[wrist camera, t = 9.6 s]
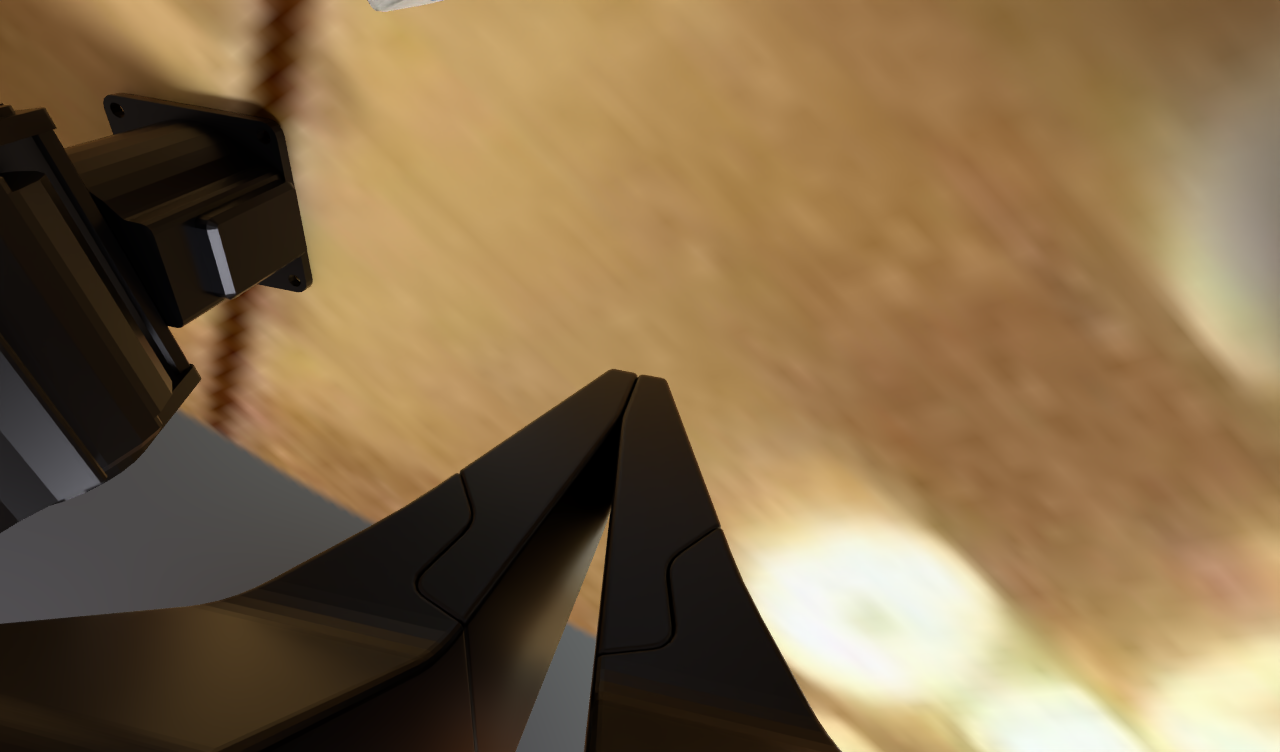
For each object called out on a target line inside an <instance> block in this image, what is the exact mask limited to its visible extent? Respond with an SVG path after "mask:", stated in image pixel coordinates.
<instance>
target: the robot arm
mask: <svg viewBox="0 0 1280 752" xmlns="http://www.w3.org/2000/svg"><path fill="white" fill-rule="evenodd" d="M103 104H104V109H105V111H106V114H107V117H108V120H109V123H110V126H111V129H112V132H113V135H111V136H108V137H104V138H100V139H97V140H93V141H90V142H86V143H82V144H79V145H75V146H72V147H68V148H63V146H62V144H61V143H60V141H59V139H58V137H57V136H56V134H55V132H54V131H53V129H56V126H55V124H54V123H53V121H52V119H51V118H50V116H49V114H48V112H47V111H46V109H45V108H35V109H26V110H17V111H14V110H13V108H12V106H11V105H3V103H1V104H0V533H1V532H3V531H4V530H6V529H8V528H9V527H11V526H13V525H14V524H15V523H17V522H19V521H21V520H23V519H25V518H27V517H29V516H31V515H33V514H34V513H36V512H38V511H40V510H42V509H44V508H46V507H48V506H50V505H54V504H57V503H60V502H63V501H66V500H69V499H71V498H73V497H76V496H79V495H81V494H83V493H86V492H88V491H90V490H92V489H94V488H96V487H97V486H99V485H101V484H103V483H105V482H107V481H108V480H110V479H112V478H113V477H115V476H116V475H118V474H119V473H121V472H122V471H124V470H125V469H126V468H127V467H129V466H130V465H131V464H132V463H134V462H135V461H136V460H137V459H138V458H139V457H140V456H141V455H142V454H143V453H144V452H145V450H146V449H147V448H148V446H149V445H150V444H151V443H152V441H153V440H154V439H155V437H156V436H157V435H158V434H159V432H160V431H161V430H162V428H163V427H164V426H165V425H166V424H167V422H168V421H169V420H170V419H171V417H172V416H173V415H174V413H175V412H176V411H177V410H178V408H179V407H180V406H181V405H182V403H183V402H184V401H185V399H186V398H187V397H188V396H189V394H190V393H191V392H192V391H193V389H194V388H195V387H196V385H197V384H198V383H199V382H200V380H201V377H200V375H199V373H198V372H197V370H196V368H195V366H194V365H193V364H189V362H188V361H187V359H186V357H185V356H184V354H183V352H182V350H181V349H180V347H179V345H178V344H177V342H176V340H175V338H174V337H173V335H172V333H171V332H170V330H169V328H168V326H171V327H176V328H181V327H183V326H184V325H186V324H188V323H189V322H191V321H192V320H194V319H196V318H197V317H199V316H200V315H202V314H204V313H205V312H207V311H208V310H210V309H211V308H213V307H215V306H216V305H218V304H219V303H221V302H223V301H224V300H226V299H230V300H231V299H235V298H236V297H238V296H239V295H241V294H242V293H244V292H246V291H247V290H249V289H250V288H252V287H253V286H255V285H257V284H259V285H264V286H269V287H274V288H279V289H284V290H289V291H294V292H302V291H304V290H306V289H307V288H309V287H310V286H311V285H312V280H313V279H312V274H311V269H310V263H309V258H308V253H307V246H306V241H305V236H304V231H303V226H302V221H301V216H300V211H299V205H298V200H297V195H296V190H295V187H294V182H293V177H292V172H291V167H290V162H289V157H288V152H287V146H286V141H285V136H284V133H283V131H282V129H281V128H280V126H279V125H278V124H277V123H275V122H274V121H273V120H270V119H267V118H261V117H255V116H250V115H244V114H238V113H233V112H227V111H221V110H216V109H210V108H204V107H199V106H193V105H187V104H182V103H176V102H170V101H165V100H159V99H153V98H148V97H142V96H136V95H131V94H125V93H116V94H111V95H107V96H106V97H105V98H104V101H103ZM120 106H121V107H122V109H123V110H124V112H123V111H122V109H121V107H120ZM264 130H266V131H267V132H268V133H269V135H270V140H269V139H268V138H267V137H266V136H265V133H264ZM295 276H297V277H298V278H299V279H300V281H298V280H297V279H296V277H295ZM609 514H610V519H609V528H608V537H607V546H606V555H605V564H604V574H603V583H602V592H601V601H600V610H599V619H598V628H597V637H596V646H595V655H594V664H593V674H592V682H591V692H590V700H589V709H588V719H587V727H586V736H585V745H584V752H842V751H841V750H840V749H839V748H838V747H837V745H836V744H835V743H834V742H833V740H832V739H831V738H830V736H829V735H828V734H827V732H826V731H825V729H824V728H823V726H822V725H821V724H820V722H819V721H818V719H817V717H816V715H815V714H814V712H813V710H812V708H811V707H810V705H809V703H808V701H807V700H806V698H805V696H804V694H803V692H802V690H801V689H800V687H799V685H798V683H797V681H796V679H795V678H794V676H793V674H792V672H791V670H790V668H789V667H788V665H787V663H786V661H785V659H784V657H783V656H782V654H781V652H780V650H779V648H778V646H777V645H776V643H775V641H774V639H773V637H772V635H771V634H770V632H769V630H768V628H767V626H766V624H765V623H764V621H763V619H762V617H761V615H760V613H759V611H758V609H757V607H756V605H755V603H754V601H753V599H752V598H751V596H750V594H749V592H748V590H747V588H746V586H745V584H744V582H743V579H742V577H741V575H740V572H739V570H738V567H737V565H736V563H735V560H734V558H733V556H732V553H731V551H730V548H729V545H728V543H727V540H726V537H725V535H724V532H723V530H722V529H721V525H720V522H719V519H718V517H717V514H716V511H715V509H714V506H713V503H712V501H711V498H710V495H709V493H708V490H707V487H706V485H705V482H704V479H703V477H702V474H701V471H700V469H699V466H698V463H697V461H696V458H695V455H694V453H693V450H692V447H691V444H690V442H689V439H688V436H687V434H686V431H685V428H684V426H683V423H682V420H681V418H680V415H679V412H678V410H677V407H676V404H675V402H674V399H673V396H672V394H671V391H670V388H669V386H668V383H667V381H666V380H665V379H663V378H659V377H653V376H648V375H640V376H639V377H637V375H636V374H635V373H632V372H627V371H622V370H616V369H611V370H608V371H607V372H605V373H604V374H602V375H601V376H599V377H598V378H597V379H595V380H594V381H592V382H591V383H589V384H588V385H586V386H585V387H583V388H582V389H580V390H579V391H577V392H576V393H574V394H573V395H571V396H570V397H568V398H567V399H565V400H564V401H562V402H561V403H560V404H558V405H557V406H555V407H554V408H552V409H551V410H549V411H548V412H546V413H545V414H543V415H542V416H540V417H539V418H537V419H536V420H534V421H533V422H531V423H530V424H528V425H527V426H525V427H524V428H523V429H521V430H520V431H518V432H517V433H515V434H514V435H512V436H511V437H509V438H508V439H506V440H505V441H503V442H502V443H500V444H499V445H497V446H496V447H494V448H493V449H491V450H490V451H489V452H487V453H486V454H484V455H483V456H481V457H480V458H478V459H477V460H475V461H474V462H472V463H471V464H469V465H468V466H466V467H465V468H463V469H462V470H461V471H460V474H458V473H456V474H454V475H453V476H451V477H450V478H448V479H447V480H445V481H444V482H442V483H441V484H439V485H438V486H436V487H435V488H433V489H432V490H430V491H428V492H427V493H425V494H424V495H422V496H421V497H419V498H417V499H416V500H414V501H413V502H411V503H410V504H408V505H406V506H405V507H403V508H401V509H400V510H398V511H396V512H394V513H393V514H391V515H389V516H387V517H386V518H384V519H382V520H380V521H379V522H377V523H375V524H373V525H371V526H370V527H368V528H366V529H364V530H362V531H361V532H359V533H357V534H355V535H353V536H351V537H350V538H348V539H346V540H344V541H342V542H340V543H339V544H337V545H335V546H333V547H331V548H329V549H327V550H326V551H324V552H322V553H320V554H318V555H316V556H314V557H312V558H310V559H309V560H307V561H305V562H303V563H301V564H299V565H297V566H296V567H294V568H292V569H290V570H288V571H286V572H285V573H283V574H281V575H279V576H277V577H275V578H274V579H271V580H269V581H267V582H265V583H263V584H261V585H259V586H257V587H255V588H253V589H251V590H248V591H246V592H243V593H241V594H238V595H235V596H232V597H229V598H226V599H223V600H219V601H215V602H210V603H206V604H201V605H194V606H186V607H176V608H165V609H154V610H143V611H133V612H123V613H112V614H101V615H91V616H80V617H68V618H58V619H48V620H37V621H26V622H16V623H4V624H0V752H515V751H516V749H517V746H518V744H519V741H520V739H521V736H522V734H523V731H524V729H525V726H526V724H527V721H528V719H529V716H530V714H531V711H532V709H533V706H534V704H535V701H536V699H537V696H538V694H539V691H540V689H541V686H542V684H543V681H544V679H545V676H546V673H547V671H548V668H549V666H550V664H551V661H552V659H553V656H554V654H555V651H556V649H557V646H558V644H559V641H560V639H561V636H562V634H563V631H564V629H565V626H566V623H567V621H568V618H569V616H570V613H571V611H572V608H573V606H574V603H575V601H576V598H577V596H578V593H579V591H580V588H581V586H582V583H583V581H584V578H585V576H586V573H587V571H588V568H589V566H590V563H591V561H592V558H593V556H594V553H595V551H596V548H597V546H598V543H599V541H600V538H601V536H602V533H603V531H604V528H605V525H606V522H607V520H608V517H609Z"/></svg>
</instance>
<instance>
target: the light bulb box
mask: <svg viewBox="0 0 1280 752" xmlns="http://www.w3.org/2000/svg"><path fill="white" fill-rule="evenodd" d="M438 1H443V0H368V2H369V4H370V5H371V7H372V8H373V9H374V10H376V11H382V12H386V11H392V10H398V9H403V8H409V7H415V6H420V5H425V4H430V3H435V2H438Z"/></svg>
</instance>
